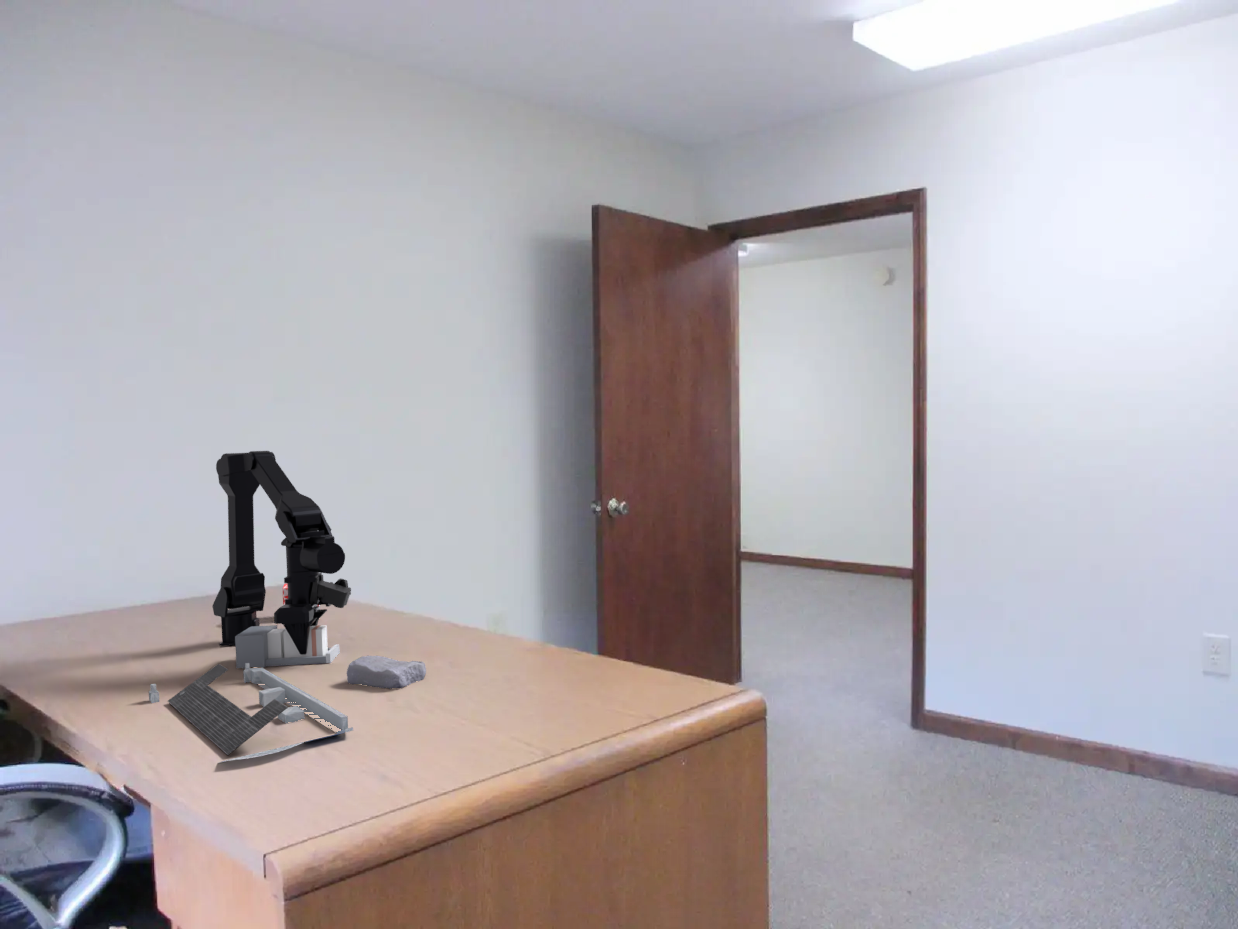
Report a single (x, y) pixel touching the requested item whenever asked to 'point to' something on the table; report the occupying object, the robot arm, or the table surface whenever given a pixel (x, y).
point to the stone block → (384, 672)
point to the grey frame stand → (271, 649)
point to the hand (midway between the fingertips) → (306, 651)
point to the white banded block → (315, 643)
